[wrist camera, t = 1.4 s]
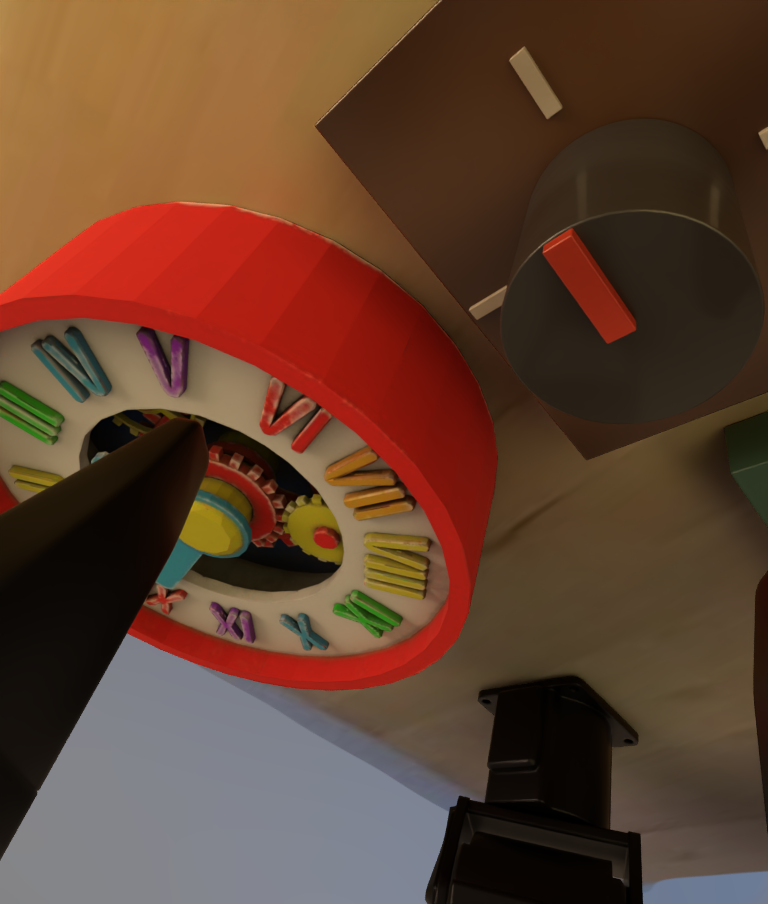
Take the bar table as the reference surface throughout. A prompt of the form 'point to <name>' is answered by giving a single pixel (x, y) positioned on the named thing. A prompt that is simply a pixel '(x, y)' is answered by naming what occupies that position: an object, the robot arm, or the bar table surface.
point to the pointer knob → (632, 277)
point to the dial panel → (551, 135)
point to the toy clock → (262, 437)
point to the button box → (750, 460)
